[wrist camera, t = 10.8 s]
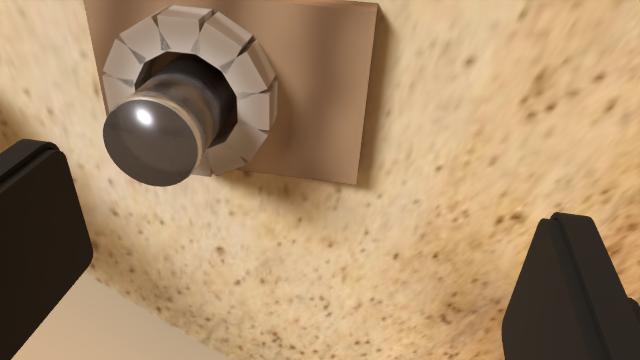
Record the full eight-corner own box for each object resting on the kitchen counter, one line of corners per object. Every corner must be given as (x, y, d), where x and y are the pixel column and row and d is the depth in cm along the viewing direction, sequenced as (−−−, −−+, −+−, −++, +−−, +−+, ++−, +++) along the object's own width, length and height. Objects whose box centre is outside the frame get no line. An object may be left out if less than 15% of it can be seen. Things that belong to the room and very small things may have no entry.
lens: (238, 54, 31) (193, 107, 24) (240, 128, 34) (200, 193, 27) (158, 45, 31) (92, 94, 24) (167, 119, 34) (110, 181, 27)
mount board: (378, 3, 30) (374, 23, 26) (358, 170, 36) (353, 204, 33) (97, -23, 31) (56, -8, 28) (127, 141, 38) (97, 171, 34)
